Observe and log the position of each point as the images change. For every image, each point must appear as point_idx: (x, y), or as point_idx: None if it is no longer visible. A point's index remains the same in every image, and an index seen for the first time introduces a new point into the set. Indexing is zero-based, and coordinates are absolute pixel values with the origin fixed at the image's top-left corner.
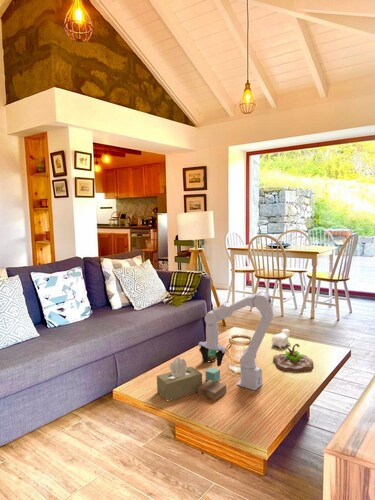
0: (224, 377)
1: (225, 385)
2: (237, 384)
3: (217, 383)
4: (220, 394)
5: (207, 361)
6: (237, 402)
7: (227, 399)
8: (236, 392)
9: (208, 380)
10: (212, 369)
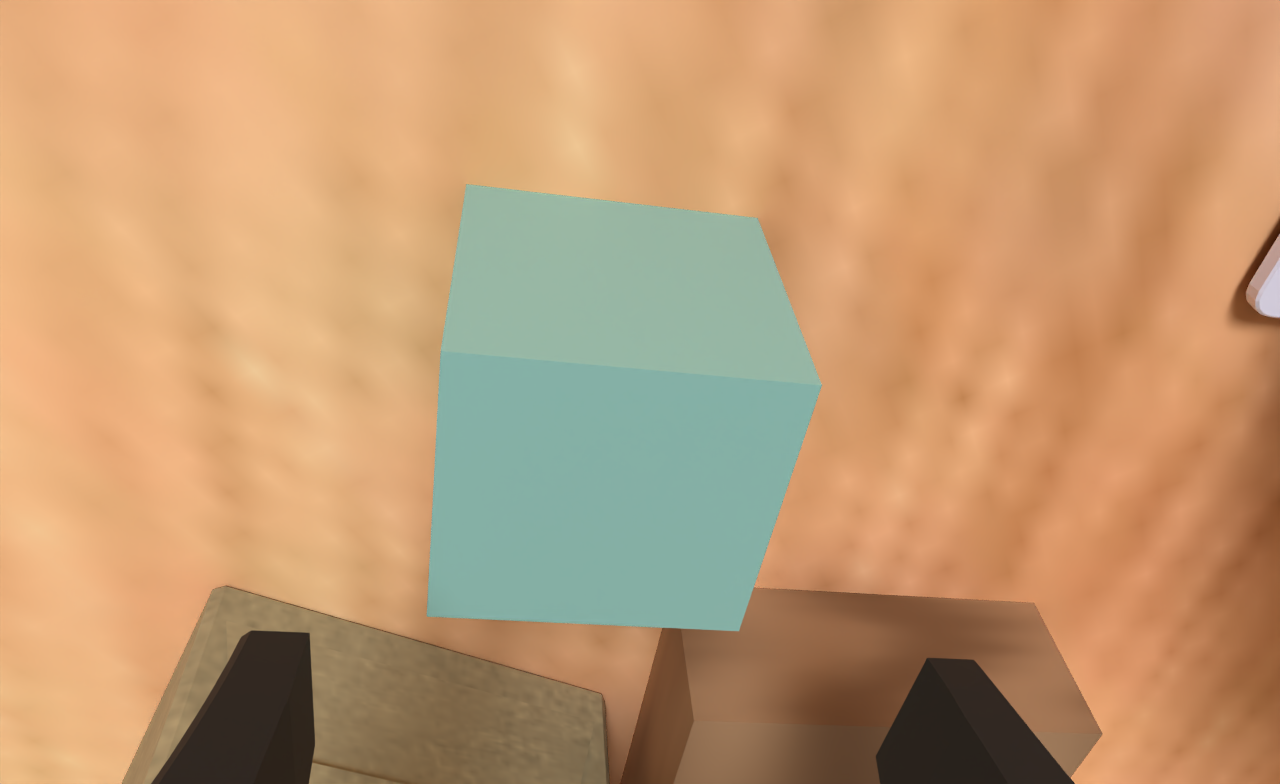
0: (837, 36)
1: (1090, 745)
2: (1263, 312)
3: None
4: None
5: (308, 641)
6: (1239, 721)
7: None
8: (1223, 528)
9: (690, 749)
10: (574, 467)
